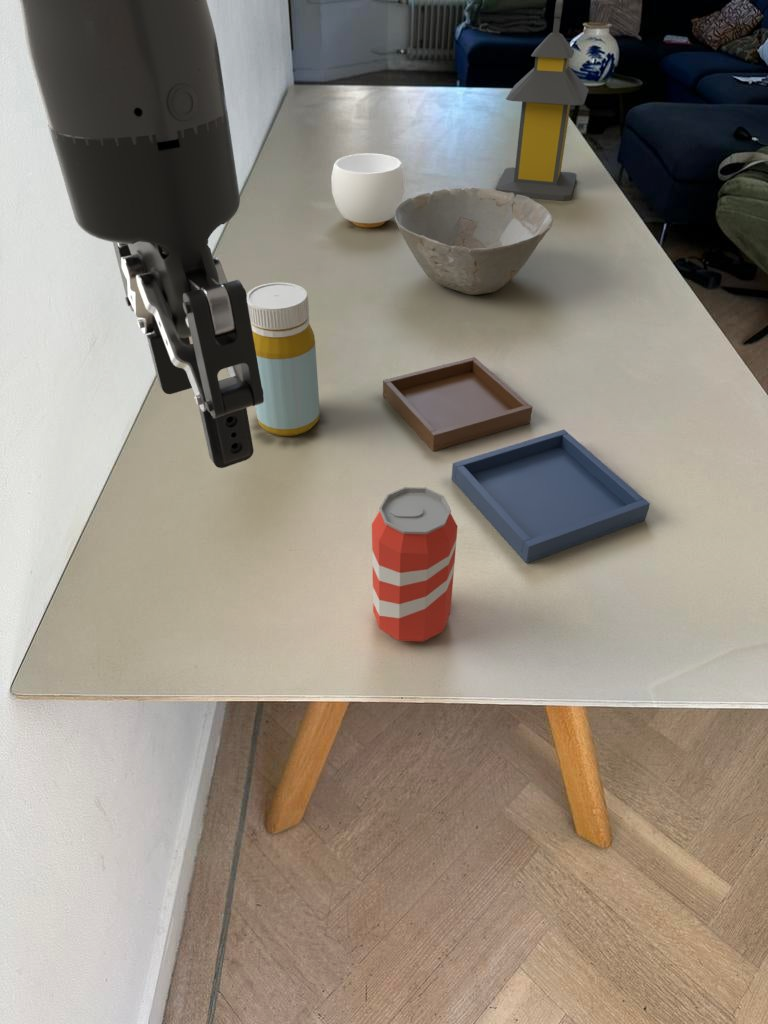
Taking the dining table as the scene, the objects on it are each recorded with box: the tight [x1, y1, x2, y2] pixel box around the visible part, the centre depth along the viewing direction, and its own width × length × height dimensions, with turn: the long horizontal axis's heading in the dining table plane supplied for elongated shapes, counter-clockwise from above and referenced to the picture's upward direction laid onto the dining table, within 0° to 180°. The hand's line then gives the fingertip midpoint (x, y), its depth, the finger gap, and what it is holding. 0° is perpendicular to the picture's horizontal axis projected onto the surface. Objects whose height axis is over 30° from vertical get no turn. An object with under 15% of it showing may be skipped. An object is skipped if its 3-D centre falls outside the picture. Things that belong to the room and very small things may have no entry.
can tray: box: [451, 429, 651, 564], centre depth 74 cm, size 14×14×2 cm
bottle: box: [246, 281, 321, 437], centre depth 81 cm, size 7×7×15 cm
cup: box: [330, 152, 406, 229], centre depth 129 cm, size 12×12×10 cm
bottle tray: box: [382, 356, 533, 452], centre depth 87 cm, size 12×12×2 cm
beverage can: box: [371, 486, 458, 642], centre depth 59 cm, size 6×6×12 cm
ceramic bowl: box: [394, 187, 553, 296], centre depth 110 cm, size 22×23×10 cm
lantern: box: [495, 0, 589, 202], centre depth 136 cm, size 14×14×30 cm
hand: (204, 422), depth 43 cm, fingers open, 8 cm apart
